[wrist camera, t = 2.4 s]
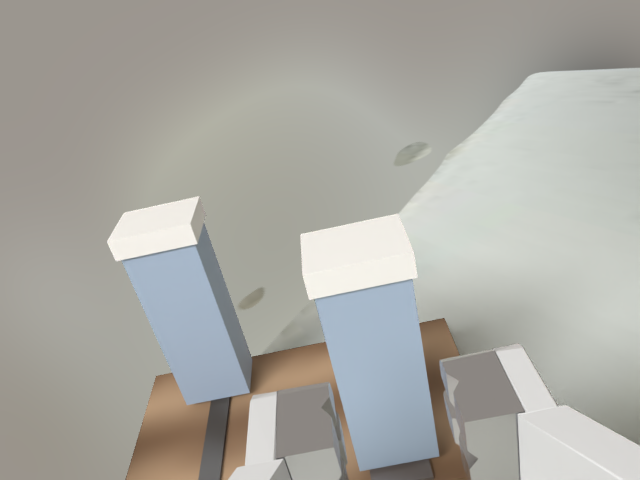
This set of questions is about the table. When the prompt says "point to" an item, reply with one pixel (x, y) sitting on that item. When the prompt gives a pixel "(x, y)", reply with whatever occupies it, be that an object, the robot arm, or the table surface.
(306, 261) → the slider
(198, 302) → the slider
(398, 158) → the table surface
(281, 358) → the wooden slider track board
